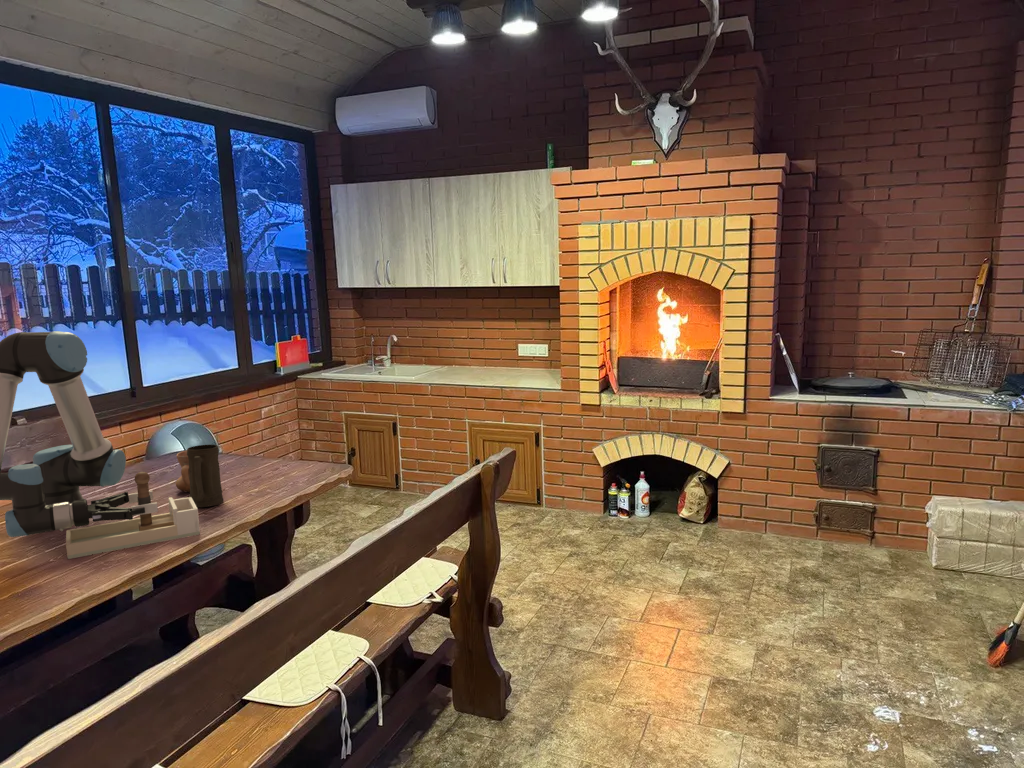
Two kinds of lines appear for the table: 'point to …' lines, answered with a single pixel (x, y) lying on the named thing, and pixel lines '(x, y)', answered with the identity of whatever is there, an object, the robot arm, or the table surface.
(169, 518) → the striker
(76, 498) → the robot arm
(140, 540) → the cream long tray
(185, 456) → the ceramic jug
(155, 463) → the table surface
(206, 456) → the beer stein
